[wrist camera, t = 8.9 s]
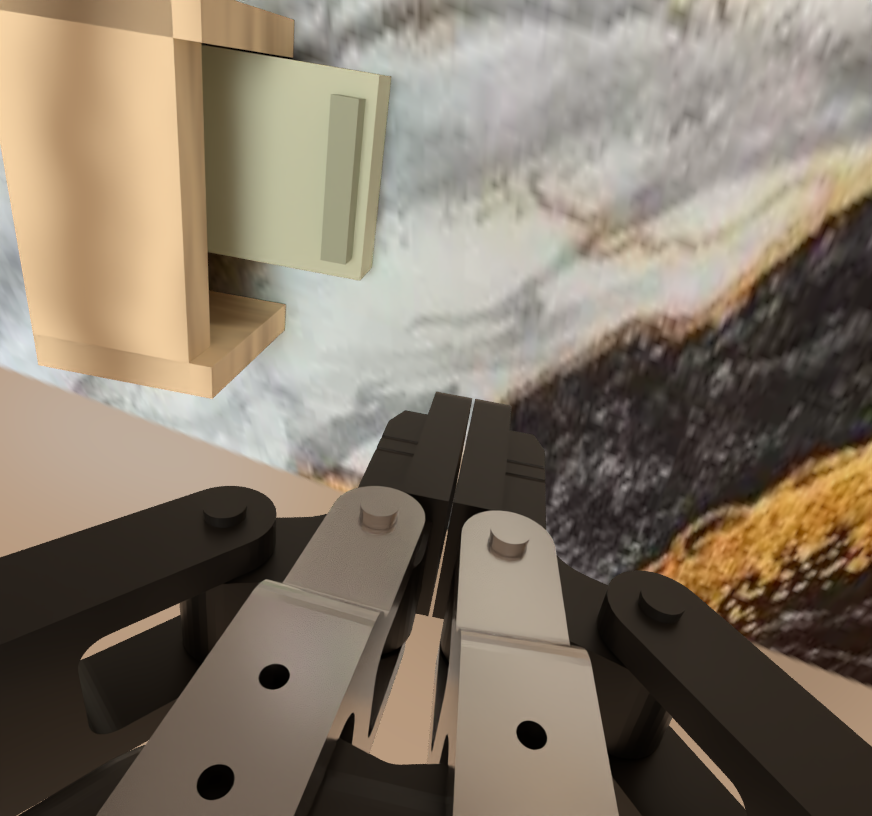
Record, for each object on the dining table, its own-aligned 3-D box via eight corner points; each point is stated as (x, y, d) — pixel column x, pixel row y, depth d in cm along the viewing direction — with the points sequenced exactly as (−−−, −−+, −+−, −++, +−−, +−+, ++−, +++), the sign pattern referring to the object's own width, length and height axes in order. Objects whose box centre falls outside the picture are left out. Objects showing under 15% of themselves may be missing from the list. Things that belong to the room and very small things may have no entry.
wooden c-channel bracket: (294, 19, 28) (200, -11, 20) (284, 329, 35) (212, 398, 27) (125, -7, 28) (-33, -48, 20) (149, 304, 35) (38, 365, 27)
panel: (393, 76, 29) (373, 73, 25) (373, 265, 33) (353, 287, 29) (167, 38, 29) (114, 30, 26) (176, 229, 34) (132, 245, 30)
